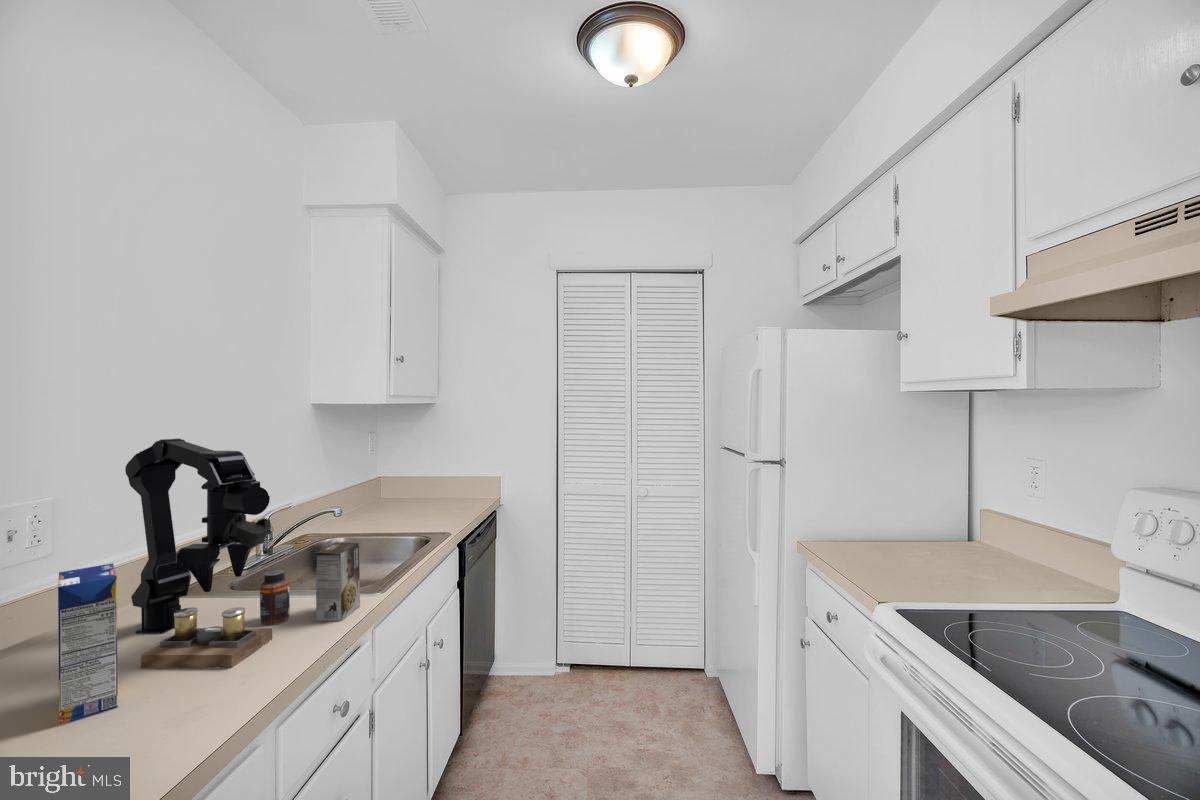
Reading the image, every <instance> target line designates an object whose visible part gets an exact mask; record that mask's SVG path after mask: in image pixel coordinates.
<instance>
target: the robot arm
mask: <svg viewBox="0 0 1200 800" xmlns="http://www.w3.org/2000/svg"><path fill="white" fill-rule="evenodd" d="M182 465H184V466H185V465H186V466H187V467H191V468H193V469H196V471H197V472H196V473H197V475H198V476H200V477H202V478H203V479H205V482H204V483H203V484H202V485H201V486H200V487H201V489H202V490H207V491H206V516H204V517H202V518H201V524H206V536H203V537H201V543H193V544H189V545H186V546H184V547H181V548H179V550H178V551H177V548H176V541H175V532H174V524H173V523H174V522H173V517H172V510H171V501H170V493H169V491H170V490H171V488H172V486H173V484H174V482H175V481H176V479H177V477H176V476H177V475H176V474H177V473H176V472H177V470H178V469H179V468H180V467H181V466H182ZM124 470H125V474H126V476H127V478H128V484H129V486H130V487H131V489H132V490H134V491H135V492H136V493H137V494H138V495H139V496H140V501H141V507H142V508H141V509H142V515H143V516H142V517H143V518H142V519H143V525H144V533H145V540H146V548H147V555H148V556H147V557H148V559H147V561H146V563H145V565H144V567H143V569H142V571H141V573H140V583H139V585H138V586H137V588H136V589H135V590H134V592H133V593H132V595H131V597H130V598H131V603H132V606H133V607H136V608H140V609H141V628H138V629H136V630H134V634H163V633H165V632H167V631H169V630H172V629H175V617H174V612H176V611H178V610H181V609H182V605H181V604H180V598H181V597H182V598H183V597H186V596H188V591H189V587H190V583H191V579H192V576H191V575H193V577H194V578H195V580H196V582H197V583H198V585H199V586H200V587H201V589H202V591H203V592H204V593H209V592H212V586H213V578H214V567H215V566H216V565H217V564H218V563H219V561H220V560H221V558H218V557H219V556H220V554H221V552H220V551H221V550H223V549H225V548H227V553H228V556H229V560H230V564H231V567H232V572H233V574H234V577H236V578H237V577H238V578H239V577H241V576H242V574H243V572H244V569H245V567H246V563H247V561H248V557H249V555H250V553H251V551H252V550H253V549H254V548H256V547H257V546H259V545H263V544H264V543H265V542H266V541H265V540H266V537H267V536H268V535H271V534H272V530H271V529H272V525H271V520H270V519H268V518H265V517H264V518H261V519H259V520H258V521H248V520H247V515H250V516H256V515H259V514H262V513H263V512H265V511H266V509H267V508H268V506H269V503H270V498H271V497H270V495H269V492H268V491H267V489H265V488H264V487H261V482H260V481H259V480H257V478H256V476H255V473H254V471H253V470H252V468H251V467H250V465H249V462H248V460H247V458H246V457H245V455H244V453H243V452H242V451H240V450H213V449H210V448H207V447H204V446H200V445H197V444H195V443H191V442H187V441H186V440H184V439H181V438H163V439H160V440H156V441H155V442H154V443H153V444H152V445H151V446H148V447H147V448H145V449H143V450H141V451H140V452H138V453H136V454H134V456H133V457H132V458H131V459H130V460H129V461H127V463H126V465H125V469H124Z"/></svg>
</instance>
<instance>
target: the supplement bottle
mask: <svg viewBox="0 0 1200 800" xmlns="http://www.w3.org/2000/svg"><path fill="white" fill-rule="evenodd" d="M263 578H264V581H263V582H262V583H261V584H260V586H259V610H260V611H259V613H260V614H259V615H260V616H259V618H260V623H261V624H262V625H265V626H266V625H267V626H270V624H271V625H277V623H278V624H280V623H284V622H285V621H287V620H288V619H289V618H290V615H291V610H290V609H291V606H290V605H291V601H290V597H291V596H290V595H291V594H290V593H291V592H290V581H289V579H287V578H286V577H285V570H282V569H276V570H275V569H274V570H270V571H267V572H266V573H264V577H263Z"/></svg>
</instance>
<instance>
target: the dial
mask: <svg viewBox="0 0 1200 800" xmlns="http://www.w3.org/2000/svg"><path fill="white" fill-rule="evenodd" d="M204 628H205V629H203V630H200V631H199V632H197V634H196V643H197V644H199V645H205V644H209V642H210V641H212V640H214V639H216V638H217V637H219V636H221V635H222V634H223V626H220V625H219V626H218V625H217V626H209V627H204Z"/></svg>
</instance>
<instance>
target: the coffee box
mask: <svg viewBox="0 0 1200 800" xmlns="http://www.w3.org/2000/svg"><path fill="white" fill-rule="evenodd" d="M314 555H315V602H316V603H315V607H316V608H315V609H316V616H315V617H316V618H315V620H316V621H317V622H341V621H344V620H345V619H346V618H347V617H348V616H350V615H351V614H352V613H353V612H355V611H356V610H357V609H358V608H360V607H361V588H360V587H361V585H360V584H361V583H360V581H361V579H360V576H361V575H360V574H361V573H360V542H349V541H347V542H344V541H343V542H342V541H341V542H338V541H337V542H334V543H332V544H330V545H328V546H326V547H324V548H322V549H320V550H319V551H317V552H315V553H314Z"/></svg>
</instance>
